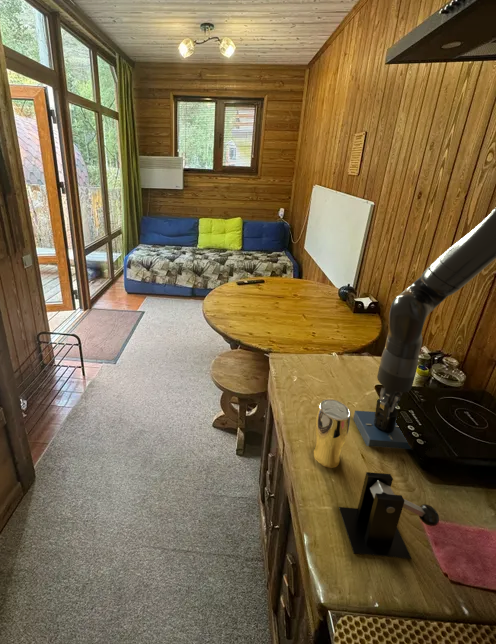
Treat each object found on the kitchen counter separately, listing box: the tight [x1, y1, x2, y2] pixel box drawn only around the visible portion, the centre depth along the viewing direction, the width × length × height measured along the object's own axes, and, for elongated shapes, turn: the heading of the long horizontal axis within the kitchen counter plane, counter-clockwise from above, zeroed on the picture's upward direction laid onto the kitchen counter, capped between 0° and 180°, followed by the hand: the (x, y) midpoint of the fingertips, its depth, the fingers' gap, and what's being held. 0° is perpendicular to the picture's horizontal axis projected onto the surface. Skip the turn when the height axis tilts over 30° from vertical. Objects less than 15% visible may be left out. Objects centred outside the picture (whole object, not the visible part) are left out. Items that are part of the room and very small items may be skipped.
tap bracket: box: [338, 471, 412, 560], centre depth 57 cm, size 10×8×13 cm
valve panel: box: [353, 410, 412, 450], centre depth 81 cm, size 11×10×3 cm
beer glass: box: [313, 398, 352, 468], centre depth 72 cm, size 7×7×15 cm
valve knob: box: [373, 405, 399, 433], centre depth 80 cm, size 5×5×5 cm
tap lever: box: [370, 481, 440, 527], centre depth 56 cm, size 13×3×3 cm, turn 84°
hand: (384, 422), depth 80 cm, fingers closed on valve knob, 5 cm apart
